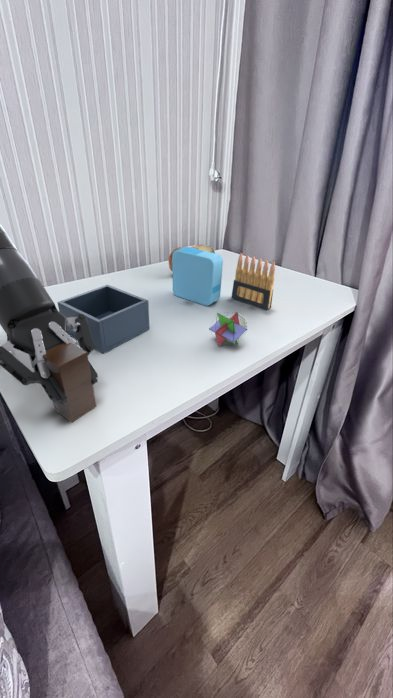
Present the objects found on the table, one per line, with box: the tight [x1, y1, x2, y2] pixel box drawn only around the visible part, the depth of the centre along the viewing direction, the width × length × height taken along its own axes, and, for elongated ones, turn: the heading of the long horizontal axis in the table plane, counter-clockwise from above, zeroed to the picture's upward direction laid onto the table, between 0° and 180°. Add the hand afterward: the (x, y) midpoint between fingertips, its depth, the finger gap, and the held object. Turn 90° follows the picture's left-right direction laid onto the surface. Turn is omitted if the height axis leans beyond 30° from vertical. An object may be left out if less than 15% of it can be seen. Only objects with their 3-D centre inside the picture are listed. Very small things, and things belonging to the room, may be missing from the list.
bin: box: [56, 284, 150, 354], centre depth 68 cm, size 13×13×7 cm
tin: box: [168, 244, 216, 273], centre depth 99 cm, size 15×3×8 cm, turn 119°
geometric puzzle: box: [208, 310, 249, 348], centre depth 66 cm, size 7×7×8 cm
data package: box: [172, 246, 224, 307], centre depth 83 cm, size 12×4×12 cm, turn 55°
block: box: [42, 343, 97, 423], centre depth 48 cm, size 4×4×10 cm
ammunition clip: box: [230, 252, 276, 311], centre depth 81 cm, size 11×2×12 cm, turn 52°
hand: (79, 392), depth 47 cm, fingers closed on block, 4 cm apart
